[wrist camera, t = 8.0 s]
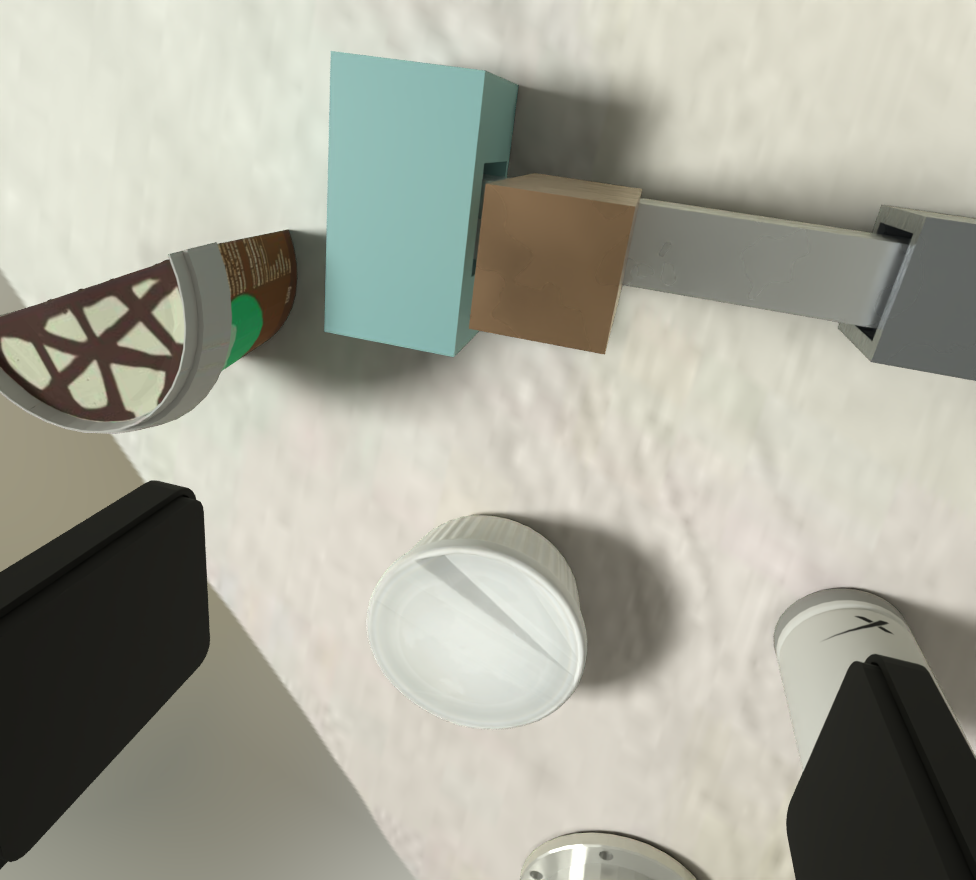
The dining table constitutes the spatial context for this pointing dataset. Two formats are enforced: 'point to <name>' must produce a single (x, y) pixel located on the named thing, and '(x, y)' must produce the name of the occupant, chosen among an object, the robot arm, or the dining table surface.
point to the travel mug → (835, 652)
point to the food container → (147, 336)
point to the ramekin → (480, 624)
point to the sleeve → (927, 297)
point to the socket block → (409, 196)
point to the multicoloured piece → (657, 260)
